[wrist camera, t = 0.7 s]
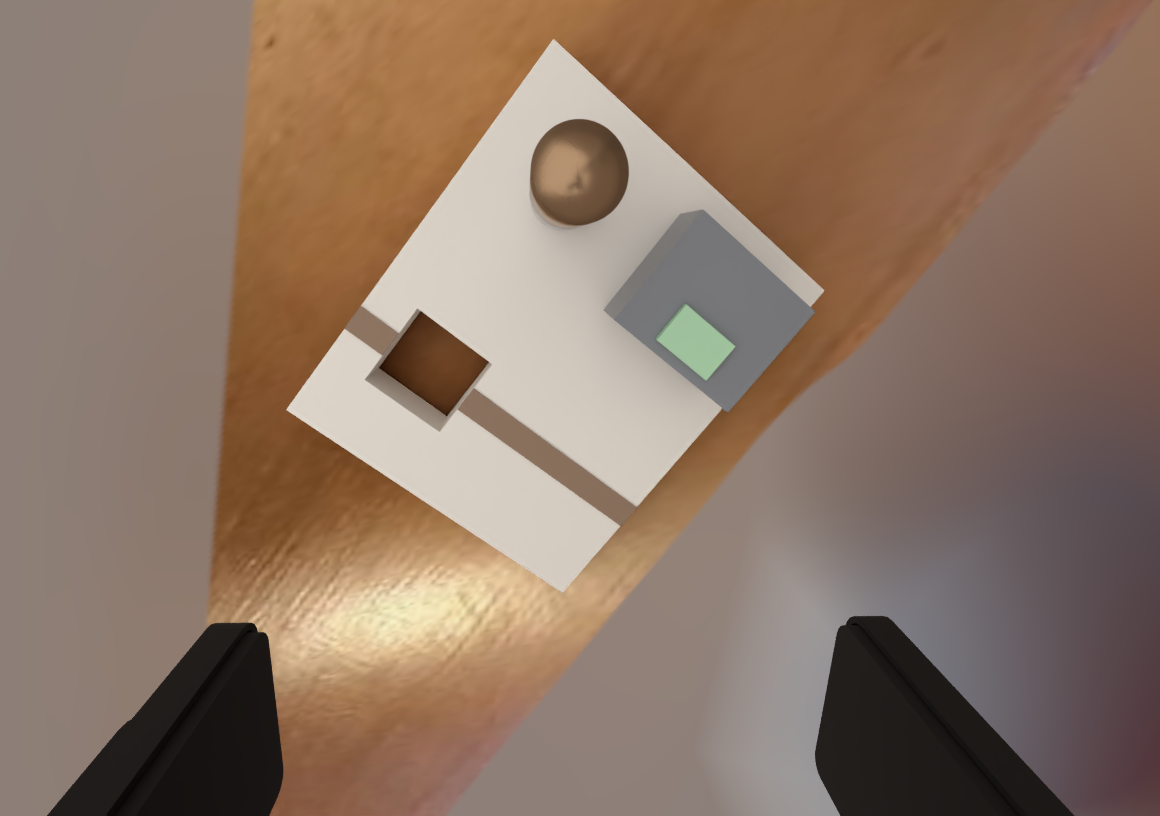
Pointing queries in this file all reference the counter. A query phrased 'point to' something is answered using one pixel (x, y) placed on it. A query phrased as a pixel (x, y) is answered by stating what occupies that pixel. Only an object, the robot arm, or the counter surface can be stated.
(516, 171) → the white flat rectangular board
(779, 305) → the block
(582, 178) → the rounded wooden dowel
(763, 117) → the counter surface
